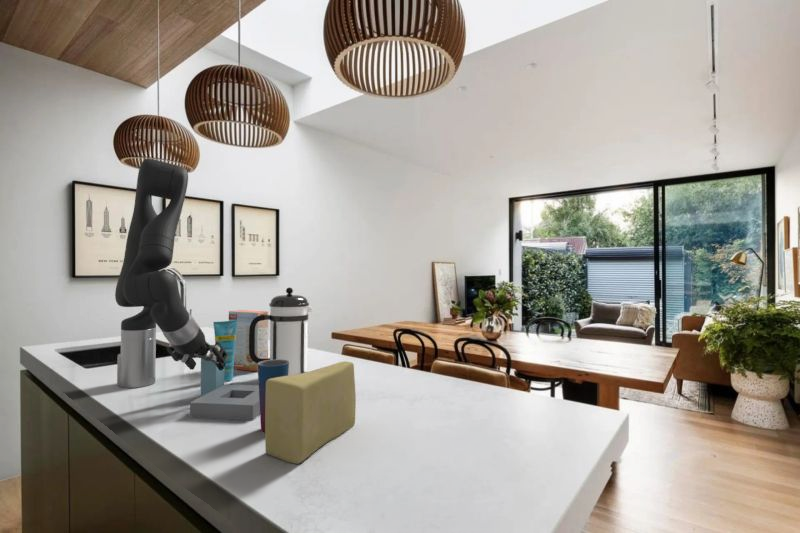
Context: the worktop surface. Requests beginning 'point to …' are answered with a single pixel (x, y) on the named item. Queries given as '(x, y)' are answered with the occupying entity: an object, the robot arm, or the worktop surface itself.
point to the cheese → (308, 410)
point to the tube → (227, 343)
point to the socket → (228, 403)
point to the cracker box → (242, 339)
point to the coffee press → (285, 331)
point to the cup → (266, 372)
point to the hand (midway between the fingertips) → (208, 367)
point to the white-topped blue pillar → (210, 376)
